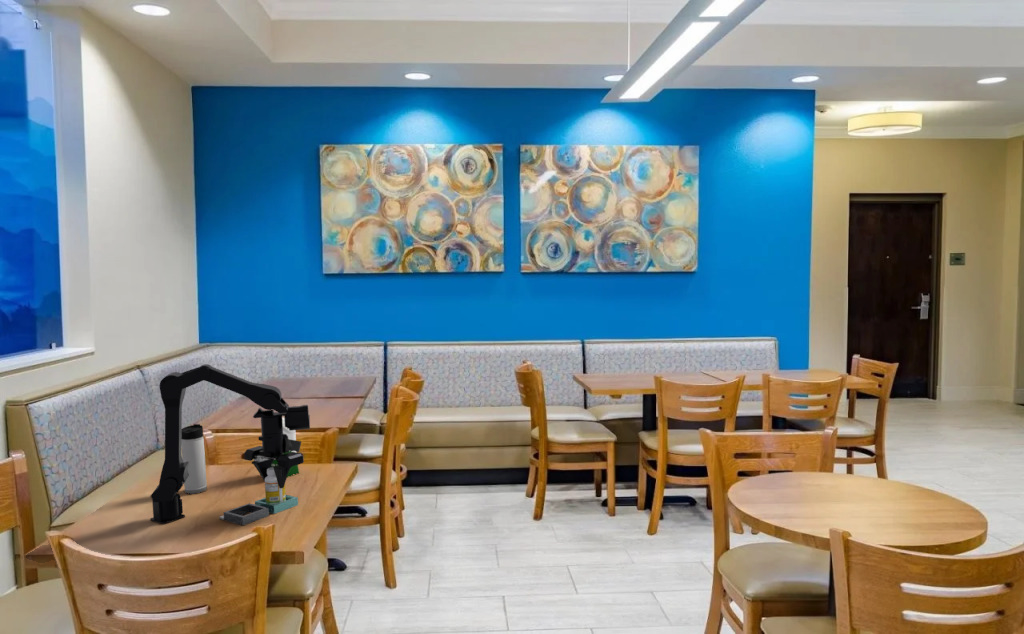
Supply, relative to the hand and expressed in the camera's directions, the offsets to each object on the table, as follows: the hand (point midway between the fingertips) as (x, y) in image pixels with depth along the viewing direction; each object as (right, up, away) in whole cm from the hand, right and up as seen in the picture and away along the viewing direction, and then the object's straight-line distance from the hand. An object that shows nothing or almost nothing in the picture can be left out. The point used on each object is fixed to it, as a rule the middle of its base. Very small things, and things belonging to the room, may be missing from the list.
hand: (275, 486), depth 204 cm
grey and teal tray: (-3, -6, -3) cm, 8 cm away
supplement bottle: (0, -5, 0) cm, 5 cm away
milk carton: (-8, -4, +32) cm, 33 cm away
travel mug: (-30, -6, +18) cm, 35 cm away
